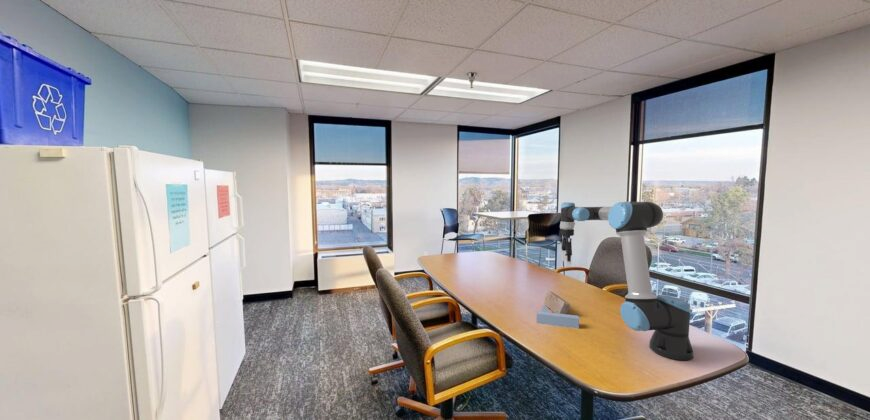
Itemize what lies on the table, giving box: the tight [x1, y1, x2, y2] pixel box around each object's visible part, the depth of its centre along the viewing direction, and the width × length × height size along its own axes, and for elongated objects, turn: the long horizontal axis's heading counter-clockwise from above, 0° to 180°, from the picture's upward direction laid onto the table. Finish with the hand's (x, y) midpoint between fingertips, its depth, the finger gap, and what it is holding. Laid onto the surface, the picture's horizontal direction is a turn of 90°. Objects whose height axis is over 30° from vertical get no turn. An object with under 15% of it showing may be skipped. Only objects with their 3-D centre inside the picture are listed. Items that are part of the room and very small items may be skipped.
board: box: [536, 305, 580, 329], centre depth 169 cm, size 12×20×5 cm, turn 71°
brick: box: [543, 290, 571, 315], centre depth 181 cm, size 16×8×5 cm
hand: (566, 263), depth 194 cm, fingers open, 13 cm apart
